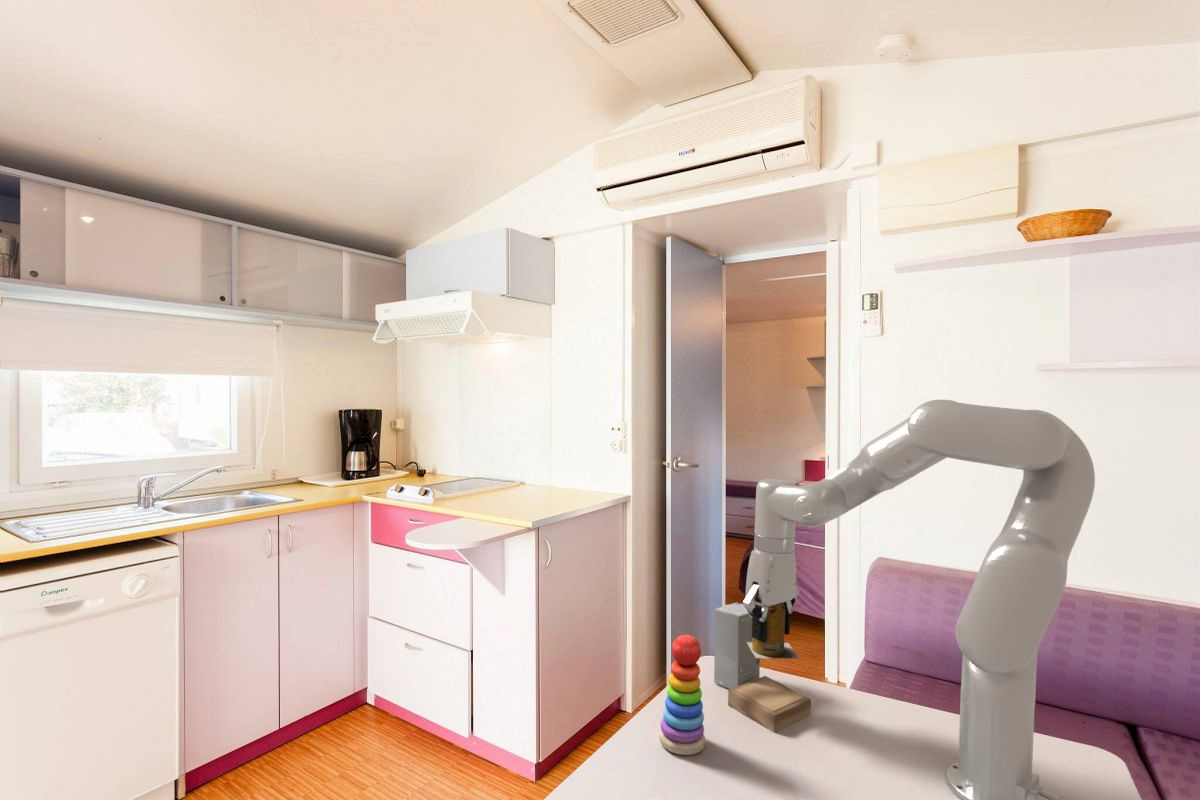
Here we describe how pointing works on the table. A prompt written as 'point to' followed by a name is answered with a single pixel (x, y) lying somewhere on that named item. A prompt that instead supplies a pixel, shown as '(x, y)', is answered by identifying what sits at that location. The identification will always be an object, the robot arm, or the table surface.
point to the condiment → (773, 636)
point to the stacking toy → (684, 701)
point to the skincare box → (734, 647)
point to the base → (769, 703)
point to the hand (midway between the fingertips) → (770, 635)
